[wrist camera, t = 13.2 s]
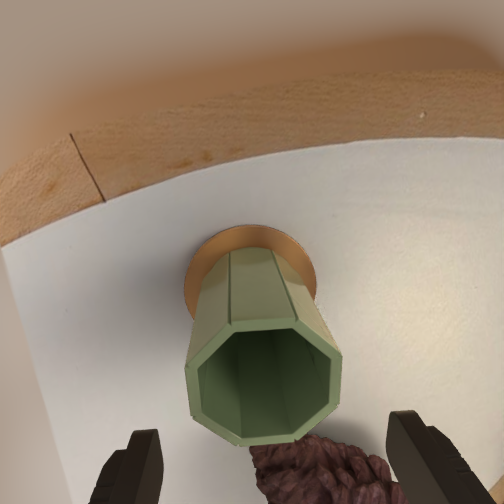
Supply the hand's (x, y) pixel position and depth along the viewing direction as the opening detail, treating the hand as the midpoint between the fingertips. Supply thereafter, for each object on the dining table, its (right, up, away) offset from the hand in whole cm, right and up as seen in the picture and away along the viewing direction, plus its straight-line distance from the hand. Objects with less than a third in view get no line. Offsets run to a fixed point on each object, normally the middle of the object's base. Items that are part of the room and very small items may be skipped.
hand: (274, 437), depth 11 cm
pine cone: (+6, -12, +17) cm, 22 cm away
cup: (-1, +4, +11) cm, 11 cm away
